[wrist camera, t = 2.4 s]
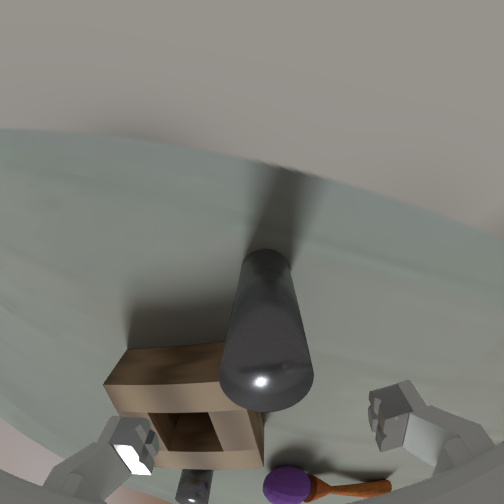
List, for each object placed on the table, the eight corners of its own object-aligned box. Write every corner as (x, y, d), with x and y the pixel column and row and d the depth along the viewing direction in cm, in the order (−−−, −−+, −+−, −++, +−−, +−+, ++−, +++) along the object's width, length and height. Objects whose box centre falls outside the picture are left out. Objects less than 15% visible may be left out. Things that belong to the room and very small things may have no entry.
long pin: (285, 245, 25) (309, 333, 12) (292, 290, 26) (316, 405, 13) (236, 253, 25) (208, 346, 12) (245, 298, 26) (229, 415, 13)
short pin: (209, 459, 33) (202, 495, 27) (216, 474, 34) (211, 508, 28) (179, 458, 33) (170, 493, 27) (189, 474, 34) (181, 507, 28)
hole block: (243, 339, 28) (238, 379, 22) (264, 426, 31) (263, 467, 25) (127, 349, 28) (103, 384, 23) (164, 430, 32) (151, 466, 26)
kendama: (373, 510, 32) (254, 509, 29) (369, 480, 37) (256, 471, 34) (400, 497, 29) (276, 498, 26) (393, 465, 34) (276, 456, 31)
